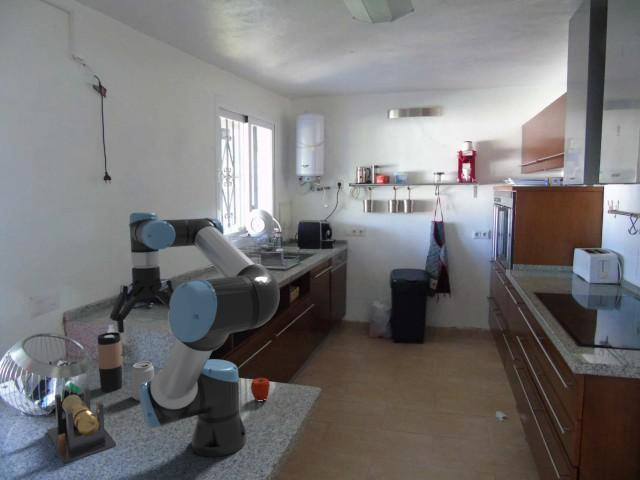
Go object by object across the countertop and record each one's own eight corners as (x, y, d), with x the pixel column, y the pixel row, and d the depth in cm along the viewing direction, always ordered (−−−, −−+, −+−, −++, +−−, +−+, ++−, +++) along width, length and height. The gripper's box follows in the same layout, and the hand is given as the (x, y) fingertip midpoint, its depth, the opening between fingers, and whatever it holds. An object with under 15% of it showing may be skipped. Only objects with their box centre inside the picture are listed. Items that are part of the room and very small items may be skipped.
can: (147, 402, 155) (145, 368, 154) (127, 401, 156) (126, 367, 155) (159, 393, 162) (157, 360, 161) (140, 391, 163) (138, 359, 162)
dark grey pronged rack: (116, 445, 127) (114, 405, 126) (64, 463, 119) (61, 420, 118) (94, 418, 144) (92, 382, 143) (47, 432, 135) (44, 394, 134)
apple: (248, 402, 154) (247, 381, 153) (256, 395, 159) (256, 374, 159) (265, 405, 152) (264, 383, 151) (272, 397, 157) (272, 376, 157)
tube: (96, 436, 125) (102, 417, 125) (76, 436, 121) (82, 417, 122) (77, 411, 140) (82, 395, 140) (59, 410, 136) (65, 393, 137)
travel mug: (101, 385, 170) (99, 333, 168) (124, 382, 172) (121, 331, 170) (98, 393, 162) (95, 339, 161) (121, 390, 165) (118, 337, 163)
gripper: (181, 260, 141) (184, 327, 143) (95, 269, 124) (99, 344, 126) (192, 263, 135) (194, 332, 137) (103, 272, 119) (107, 351, 121)
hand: (149, 338), depth 132 cm, fingers open, 13 cm apart
